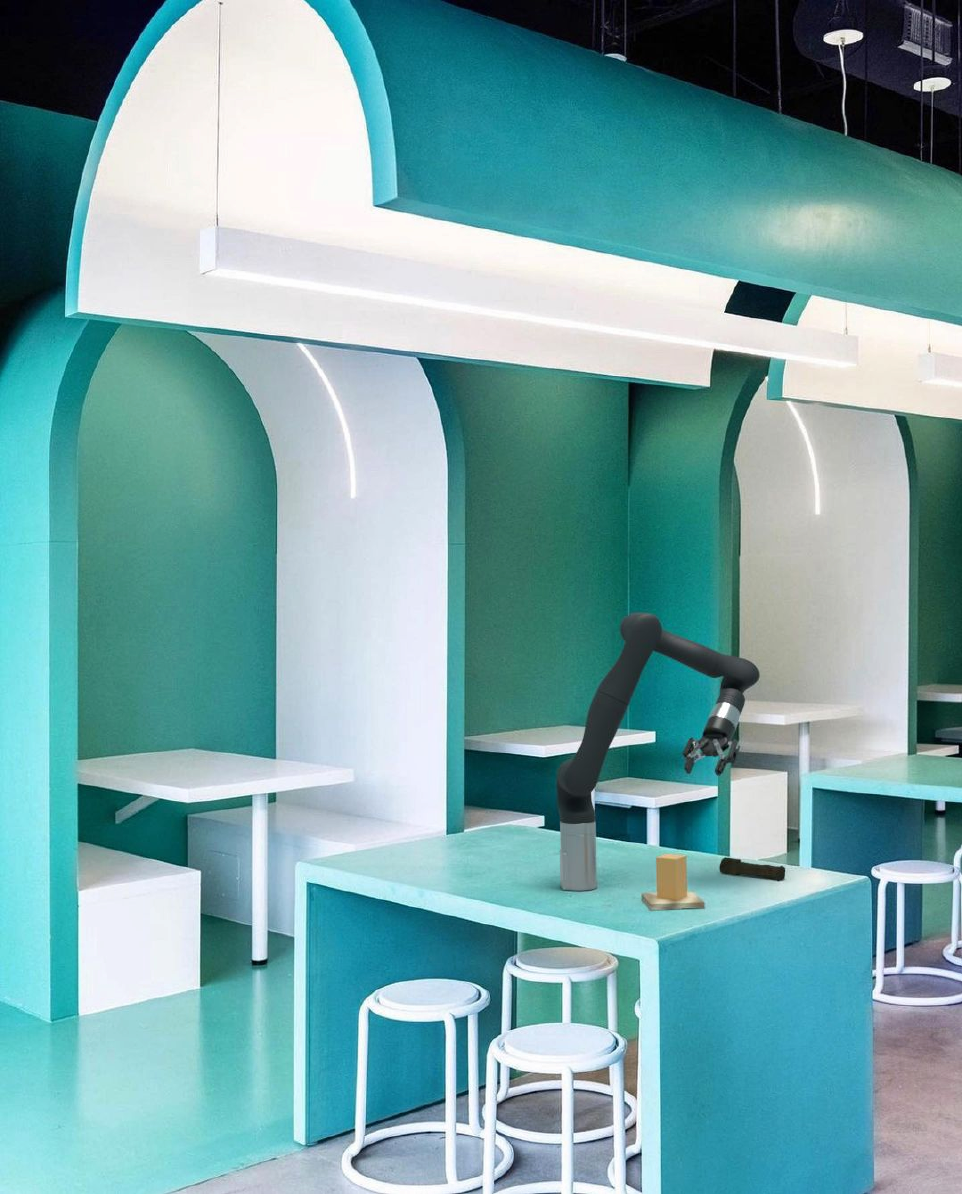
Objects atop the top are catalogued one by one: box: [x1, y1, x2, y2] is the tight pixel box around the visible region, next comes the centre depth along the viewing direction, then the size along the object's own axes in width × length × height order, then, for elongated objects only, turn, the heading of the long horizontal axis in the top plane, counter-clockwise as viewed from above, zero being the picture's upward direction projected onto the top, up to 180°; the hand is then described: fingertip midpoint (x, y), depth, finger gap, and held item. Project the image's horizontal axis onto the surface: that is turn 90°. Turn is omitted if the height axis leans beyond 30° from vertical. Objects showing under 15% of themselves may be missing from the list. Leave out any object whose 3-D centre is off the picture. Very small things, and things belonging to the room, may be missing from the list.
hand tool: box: [718, 857, 786, 882], centre depth 369 cm, size 19×4×5 cm, turn 47°
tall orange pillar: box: [655, 853, 688, 901], centre depth 338 cm, size 5×5×10 cm
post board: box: [641, 890, 706, 911], centre depth 338 cm, size 13×13×8 cm
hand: (702, 772), depth 352 cm, fingers open, 8 cm apart
